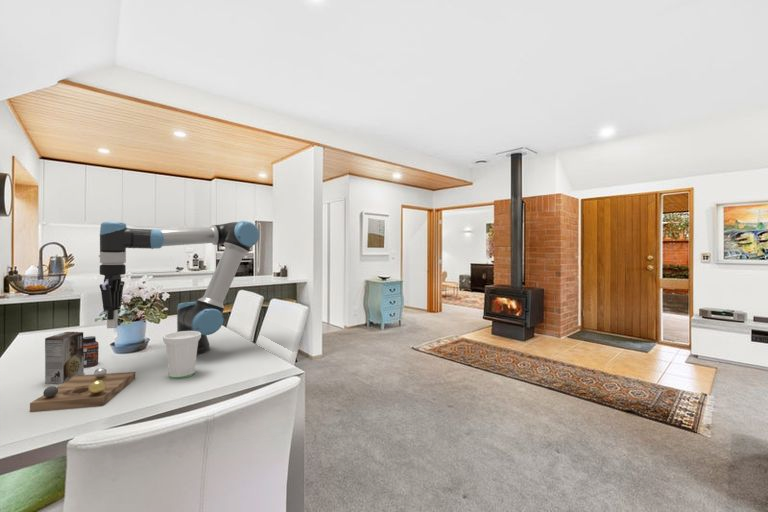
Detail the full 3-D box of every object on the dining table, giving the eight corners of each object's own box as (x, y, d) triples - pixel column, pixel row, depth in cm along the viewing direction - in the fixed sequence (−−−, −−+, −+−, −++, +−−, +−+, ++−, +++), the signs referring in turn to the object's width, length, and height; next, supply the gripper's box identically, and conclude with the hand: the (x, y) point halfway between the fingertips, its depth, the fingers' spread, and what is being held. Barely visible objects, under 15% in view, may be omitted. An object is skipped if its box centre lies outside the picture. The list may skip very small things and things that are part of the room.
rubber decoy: (60, 394, 105) (60, 383, 105) (53, 398, 102) (53, 388, 101) (47, 395, 104) (48, 384, 104) (40, 399, 101) (40, 389, 101)
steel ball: (108, 375, 120) (108, 366, 120) (103, 379, 117) (103, 369, 117) (97, 376, 119) (97, 366, 119) (91, 380, 116) (91, 370, 116)
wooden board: (76, 382, 120) (76, 375, 120) (135, 378, 124) (135, 371, 124) (29, 411, 99) (29, 403, 98) (103, 405, 103) (103, 397, 103)
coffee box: (66, 374, 127) (66, 331, 127) (84, 374, 128) (84, 331, 128) (43, 384, 118) (43, 337, 118) (63, 383, 119) (63, 337, 118)
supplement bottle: (86, 368, 134) (87, 339, 134) (74, 366, 135) (75, 338, 135) (102, 363, 140) (102, 336, 140) (90, 362, 141) (90, 335, 141)
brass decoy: (108, 390, 108) (108, 377, 108) (101, 396, 104) (101, 382, 104) (92, 391, 107) (92, 378, 107) (84, 397, 103) (85, 383, 103)
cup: (160, 383, 121) (161, 340, 121) (164, 371, 132) (164, 332, 132) (200, 377, 127) (200, 336, 126) (200, 367, 138) (201, 329, 138)
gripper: (110, 263, 131) (109, 324, 131) (90, 264, 118) (90, 332, 118) (132, 263, 133) (132, 323, 133) (115, 264, 120) (115, 331, 120)
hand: (112, 327), depth 126 cm, fingers closed
